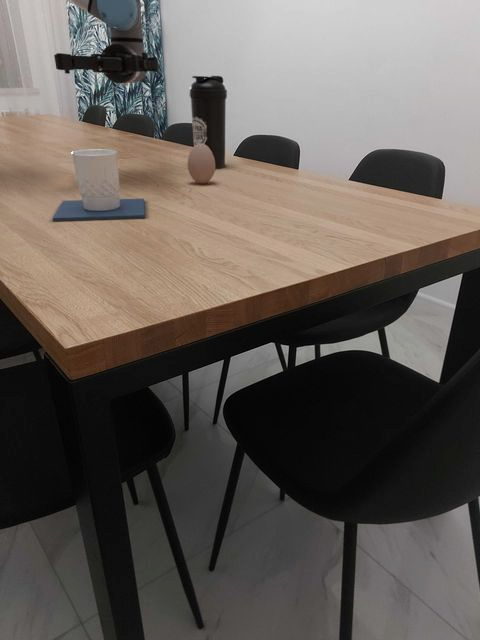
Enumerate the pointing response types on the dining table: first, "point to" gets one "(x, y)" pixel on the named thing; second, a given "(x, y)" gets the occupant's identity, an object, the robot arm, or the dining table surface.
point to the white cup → (97, 178)
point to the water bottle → (209, 115)
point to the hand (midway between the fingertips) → (96, 62)
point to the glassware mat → (77, 212)
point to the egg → (201, 163)
